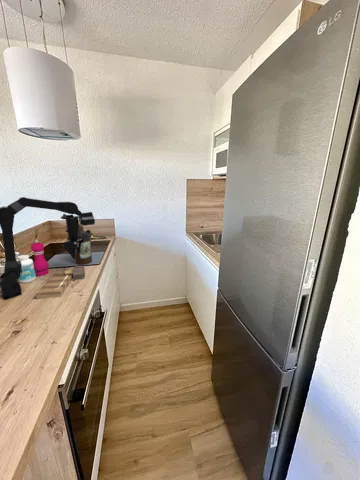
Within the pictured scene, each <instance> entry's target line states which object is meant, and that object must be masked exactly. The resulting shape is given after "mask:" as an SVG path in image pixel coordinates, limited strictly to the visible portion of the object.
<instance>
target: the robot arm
mask: <svg viewBox="0 0 360 480" xmlns="http://www.w3.org/2000/svg"><path fill="white" fill-rule="evenodd" d="M27 207H28V208H29V207H30V208H35V209H36V208H37V209H45V210H53V211H54V210H55V211H58V212H61V213H62V216H60V219H62V220H65V226H66V230H65V232H66V233H67V238H66V240H65V241H64V242H63V244H62V248H63V249H65V250H66V252H68V254H69V255H70V257H71V258H72V259H73V260H76V251H77V253H80V251H81V244H82V242H83V241H84V240H87V241H90V240H92V236H93V233H92V232H91V229H86V231H85V230H84V231H81V228H79V224H82V226H83V227H84V226H93V225H94V226H95V223H96V219H95V216H94V214H93V212H92V211H87V212H82V211H81V210H80V209H79V207H78V204H76V203H75V202H72V201H50V200H44V199H36V198H30V197H29V198H28V197H25V196H22V197H21V196H20V197H19V198H18V199H17V200H15V201H14V202H11V203H10V204H8V205H7V206H1V207H0V229H1V233H2V234H1V235H2V243H3V250H4V258H5V259H4V268H3V272H2V274H1V275H0V297H1V298H2V299H3V300H4V301H6V300H9V299H12V298H15V297H18V296H21V295H23V293H22V292H23V291H22V287H21V286H22V285H21V283H20V282H19V280H18V278H19V277H20V275H21V273H22V268H21V261H18V259H17V258H16V247H15V239H14V231H13V229H14V228H13V227H14V222H15V215H16V214H18V213H20V212H21V211H22V210H23V209H25V208H27ZM75 215H76V216H75Z"/></svg>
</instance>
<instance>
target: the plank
mask: <svg viewBox="0 0 360 480" xmlns="http://www.w3.org/2000/svg"><path fill="white" fill-rule="evenodd" d="M73 280H74V278H73V274H65V271H63V272H61V271H60V272H54V273H52V275H51V276H50V277H49V278H48V279H47V281H46V282H45V283H43V285H42V286H41V287H40V288H39V289H38V291H37V292H35V298H36V300H41V299H50V298H60V297H62V296H63V295H64V293H65V292H66V290H67V288H68V287H69V286H70V284H71V282H72V281H73Z"/></svg>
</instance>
